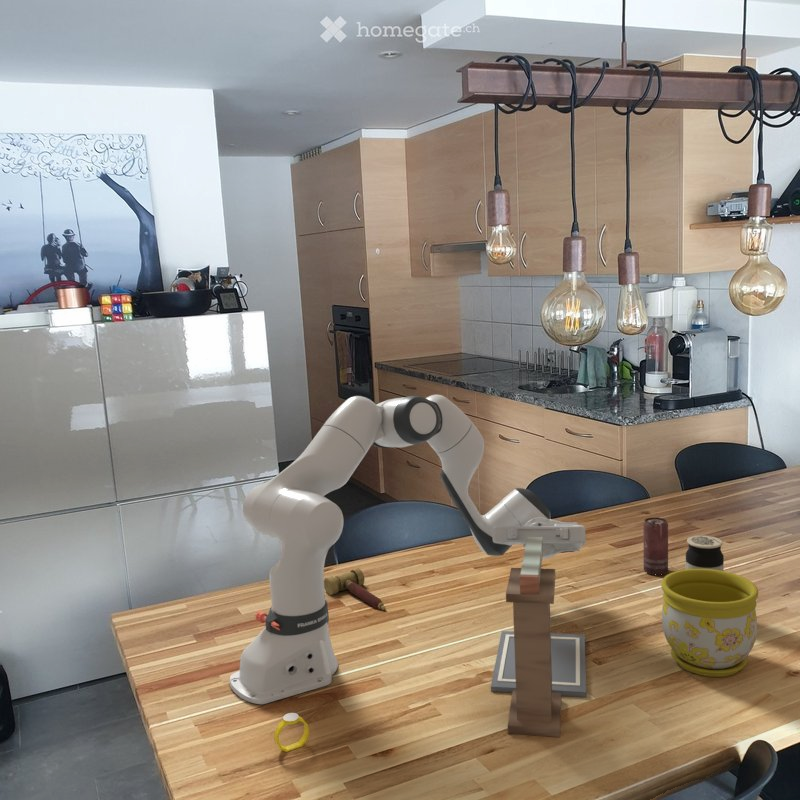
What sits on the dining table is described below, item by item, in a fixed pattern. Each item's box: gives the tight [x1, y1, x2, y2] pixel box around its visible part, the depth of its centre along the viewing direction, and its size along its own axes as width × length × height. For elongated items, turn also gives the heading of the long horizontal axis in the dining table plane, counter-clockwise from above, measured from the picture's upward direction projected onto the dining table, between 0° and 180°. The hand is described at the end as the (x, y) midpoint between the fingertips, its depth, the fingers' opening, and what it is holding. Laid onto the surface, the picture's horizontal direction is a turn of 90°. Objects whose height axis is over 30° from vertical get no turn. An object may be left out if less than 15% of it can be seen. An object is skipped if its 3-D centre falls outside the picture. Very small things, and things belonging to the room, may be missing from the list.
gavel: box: [324, 567, 386, 611], centre depth 202 cm, size 21×5×10 cm
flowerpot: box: [660, 568, 759, 678], centre depth 160 cm, size 18×18×16 cm
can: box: [643, 517, 669, 576], centre depth 207 cm, size 6×6×14 cm
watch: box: [273, 712, 310, 753], centre depth 139 cm, size 6×3×6 cm, turn 119°
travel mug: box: [685, 535, 725, 571], centre depth 180 cm, size 8×8×18 cm
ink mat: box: [490, 630, 587, 698], centre depth 164 cm, size 24×18×1 cm
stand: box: [505, 567, 562, 738], centre depth 143 cm, size 12×9×26 cm
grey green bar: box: [519, 537, 543, 594], centre depth 145 cm, size 20×3×3 cm, turn 168°
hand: (536, 532), depth 169 cm, fingers open, 8 cm apart
